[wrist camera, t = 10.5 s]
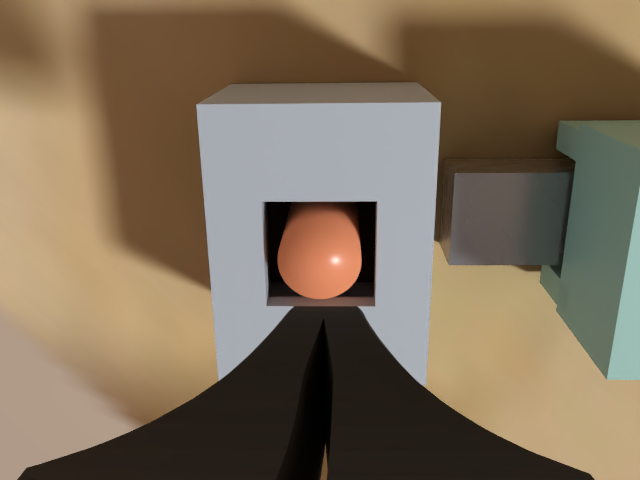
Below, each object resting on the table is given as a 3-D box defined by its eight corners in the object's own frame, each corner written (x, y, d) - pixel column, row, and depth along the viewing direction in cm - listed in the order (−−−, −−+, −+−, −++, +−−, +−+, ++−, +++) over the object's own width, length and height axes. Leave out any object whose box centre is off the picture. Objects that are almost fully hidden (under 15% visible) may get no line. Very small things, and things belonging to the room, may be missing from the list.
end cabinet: (408, 307, 22) (426, 385, 18) (244, 307, 22) (218, 383, 18) (417, 82, 20) (440, 102, 15) (230, 83, 20) (196, 104, 15)
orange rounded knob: (357, 246, 20) (361, 299, 16) (290, 246, 20) (278, 298, 16) (358, 181, 19) (362, 220, 16) (288, 181, 19) (276, 220, 16)
